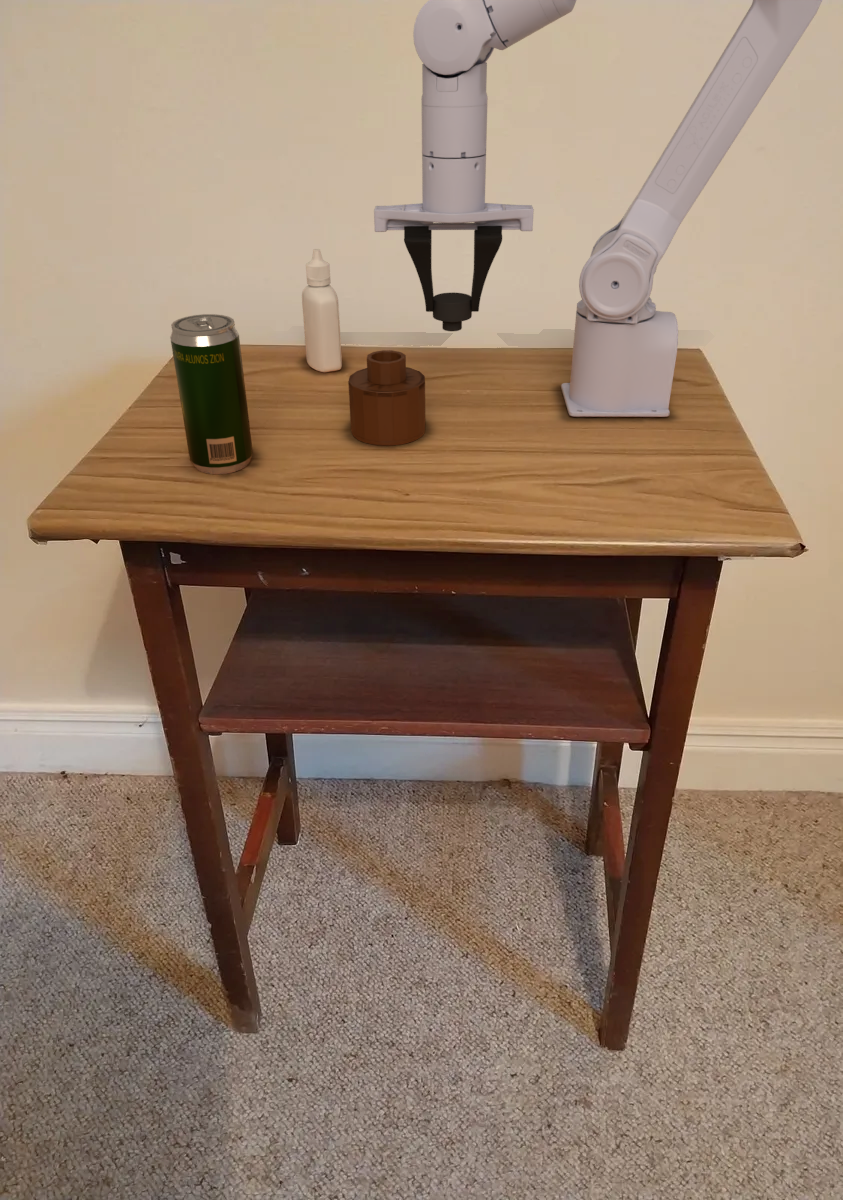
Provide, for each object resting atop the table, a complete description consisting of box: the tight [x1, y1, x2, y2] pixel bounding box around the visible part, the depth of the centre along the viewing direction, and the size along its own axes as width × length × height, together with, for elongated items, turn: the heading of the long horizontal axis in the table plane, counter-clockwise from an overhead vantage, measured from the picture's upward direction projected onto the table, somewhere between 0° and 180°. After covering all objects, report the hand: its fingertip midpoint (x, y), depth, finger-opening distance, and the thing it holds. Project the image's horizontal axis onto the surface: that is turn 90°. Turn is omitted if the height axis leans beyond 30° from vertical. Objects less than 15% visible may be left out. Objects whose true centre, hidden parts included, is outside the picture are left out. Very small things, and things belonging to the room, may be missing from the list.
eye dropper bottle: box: [301, 248, 343, 373], centre depth 96 cm, size 4×6×12 cm
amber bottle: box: [347, 349, 426, 447], centre depth 82 cm, size 7×7×7 cm
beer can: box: [169, 313, 254, 475], centre depth 75 cm, size 5×5×12 cm
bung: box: [432, 292, 473, 332], centre depth 88 cm, size 4×4×3 cm
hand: (452, 308), depth 88 cm, fingers closed on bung, 4 cm apart
